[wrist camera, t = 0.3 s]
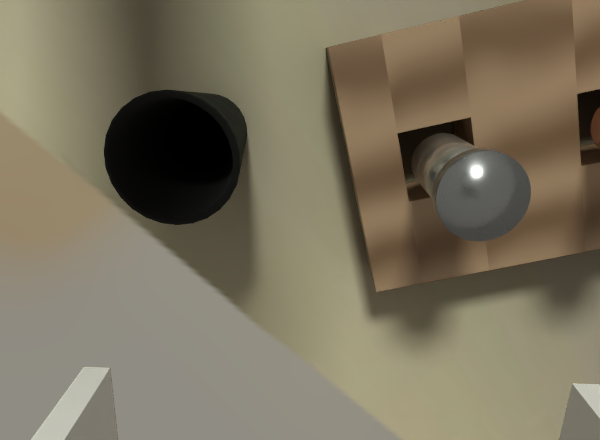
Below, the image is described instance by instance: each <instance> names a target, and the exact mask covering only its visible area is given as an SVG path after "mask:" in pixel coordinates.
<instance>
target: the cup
mask: <svg viewBox="0 0 600 440" xmlns="http://www.w3.org/2000/svg"><path fill="white" fill-rule="evenodd" d="M246 136H247V127H246V123H245V119H244V116H243V115H242V113H241V111H240V109H239V108H238V107H237V106H236V105H235V104H234V103H233V102H231V101H230V100H229V99H227V98H225V97H222V96H220V95H215V94H207V93H196V92H185V91H175V90H161V91H153V92H148V93H146V94H143V95H141V96H138V97H136V98H134V99H133V100H131V101H130V102H129V103H127V104H126V105H125V106H123V107H122V108H121V109H120V111H119V112H118V113H117V115H116V116H115V117H114V119H113V120H112V122H111V124H110V127H109V129H108V132H107V134H106V139H105V146H104V157H105V165H106V170H107V172H108V175H109V178H110V181H111V183H112V185H113V186H114V188H115V189H116V191H117V193H118V194H119V196H120V197H121V198H122V199H123V200H124V201H125V202H126V203H127V204H128V205H129V206H130V207H131V208H132V209H134V210H135V211H137V212H138V213H140V214H141V215H143V216H145V217H146V218H149V219H152V220H155V221H157V222H160V223H166V224H174V225H181V224H190V223H195V222H197V221H200V220H203V219H206V218H208V217H209V216H211V215H212V214H214V213H215V212H217V211H218V210H220V209H221V207H222V206H223V205H224V204H225V203H226V202H227V201H228V200H229V198H230V197H231V195H232V193H233V191H234V189H235V187H236V185H237V181H238V176H239V172H240V167H241V162H242V156H243V151H244V146H245V141H246Z"/></svg>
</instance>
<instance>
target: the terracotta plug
mask: <svg viewBox="0 0 600 440" xmlns="http://www.w3.org/2000/svg"><path fill="white" fill-rule="evenodd" d="M591 136H592V139H593V141H594V143H595V144H596V145H597V146H598V147H599V148H600V106H599V108H598V109H597V110H596V112H595V114H594V116H593V118H592V122H591Z"/></svg>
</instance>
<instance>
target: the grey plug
mask: <svg viewBox="0 0 600 440" xmlns="http://www.w3.org/2000/svg"><path fill="white" fill-rule="evenodd" d="M411 166H412V172H413V174H414V177H415V178H416V180H417V181H418V182H419V183H420V185H421V186H422V187H423V188H424V189H425V191H426V192H427V193H428V194H429V195H430V197H431V198H432V200H433V206H434V209H435V212H436V214H437V216H438V217H439V219H440V220H441V221H442V223H443V224H444V225H445V226H446V228H447V229H448V230H449V231H451V232H452V233H453V234H455V235H456V236H458V237H460V238H463V239H466V240H470V241H488V240H492V239H496V238H498V237H501V236H503V235H504V234H506V233H508V232H509V231H511V230H512V229H513V228H514V227H515V226H516V225H517V224H518V223H519V222H520V221H521V219H522V218H523V217H524V215H525V213H526V211H527V209H528V206H529V203H530V198H531V185H530V181H529V178H528V175H527V173H526V171H525V170H524V168H523V167H522V166H521V165H520V164H519V163H518V162H517V161H516V160H515V159H513V158H511V157H510V156H508V155H506V154H504V153H502V152H500V151H497V150H494V149H489V148H477V147H475V146H473V145H471V144H470V143H468V142H466V141H464V140H462V139H461V138H459V137H457V136H455V135H453V134H449V133H438V134H434V135H431V136H429V137H427V138H425V139H424V140H423V141H422V142H421V143H420V144H419V145H418V146H417V148H416V149H415V151H414V153H413V156H412V162H411Z"/></svg>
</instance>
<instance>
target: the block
mask: <svg viewBox="0 0 600 440" xmlns="http://www.w3.org/2000/svg"><path fill="white" fill-rule="evenodd" d="M326 52H327V57H328V62H329V67H330V72H331V77H332V82H333V87H334V92H335V97H336V102H337V107H338V112H339V117H340V122H341V127H342V132H343V137H344V143H345V148H346V153H347V158H348V163H349V168H350V173H351V178H352V183H353V188H354V193H355V198H356V203H357V208H358V213H359V218H360V223H361V228H362V233H363V238H364V243H365V248H366V253H367V258H368V263H369V268H370V271H371V275H372V279H373V282H374V286H375V289H376V292H379V291H384V290H389V289H395V288H400V287H405V286H410V285H415V284H421V283H426V282H431V281H436V280H441V279H446V278H452V277H457V276H462V275H467V274H472V273H478V272H483V271H488V270H493V269H498V268H504V267H509V266H514V265H519V264H524V263H530V262H535V261H540V260H545V259H550V258H556V257H561V256H566V255H571V254H576V253H581V252H587V251H592V250H597V249H600V148H599V147H598V146H597V145H596V144H595V143H593V144H589V145H584V146H580V137H579V119H578V101H577V94H579V93H583V92H588V91H592V90H597V89H600V0H525V1H520V2H516V3H512V4H508V5H503V6H499V7H495V8H491V9H487V10H482V11H478V12H474V13H470V14H466V15H461V16H457V17H453V18H449V19H445V20H440V21H436V22H432V23H428V24H424V25H419V26H415V27H411V28H407V29H402V30H398V31H394V32H390V33H386V34H381V35H377V36H373V37H369V38H365V39H360V40H356V41H352V42H348V43H344V44H339V45H335V46H331V47H327V48H326ZM451 121H453V126H454V134H455V136H457V137H459V138H461V139H462V140H464V141H466V142H468V143H470V144H471V145H473V146H475V147H477V148H489V149H494V150H497V151H500V152H502V153H504V154H506V155H508V156H510V157H511V158H513V159H515V160H516V161H517V162H518V163H519V164H520V165H521V166H522V167H523V168H524V170H525V171H526V173H527V175H528V178H529V181H530V185H531V198H530V203H529V206H528V209H527V211H526V213H525V215H524V217H523V218H522V219H521V221H520V222H519V223H518V224H517V225H516V226H515V227H514V228H513V229H512V230H511V231H509V232H508V233H506V234H504V235H503V236H501V237H498V238H496V239H492V240H488V241H470V240H466V239H463V238H460V237H458V236H456V235H455V234H453V233H452V232H451V231H449V230H448V229H447V228H446V226H445V225H444V224H443V223H442V221H441V220H440V219H439V217H438V216H437V214H436V212H435V209H434V206H433V200H432V198H431V197H430V195H429V194H428V193H427V192H426V191H425V189H424V188H423V187H422V186H421V185H420V183H419V182H418V181H413V182H408V183H406V182H405V176H404V170H403V164H402V158H401V152H400V146H399V140H398V134H397V133H401V132H406V131H410V130H415V129H419V128H424V127H429V126H433V125H438V124H442V123H447V122H451Z"/></svg>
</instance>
